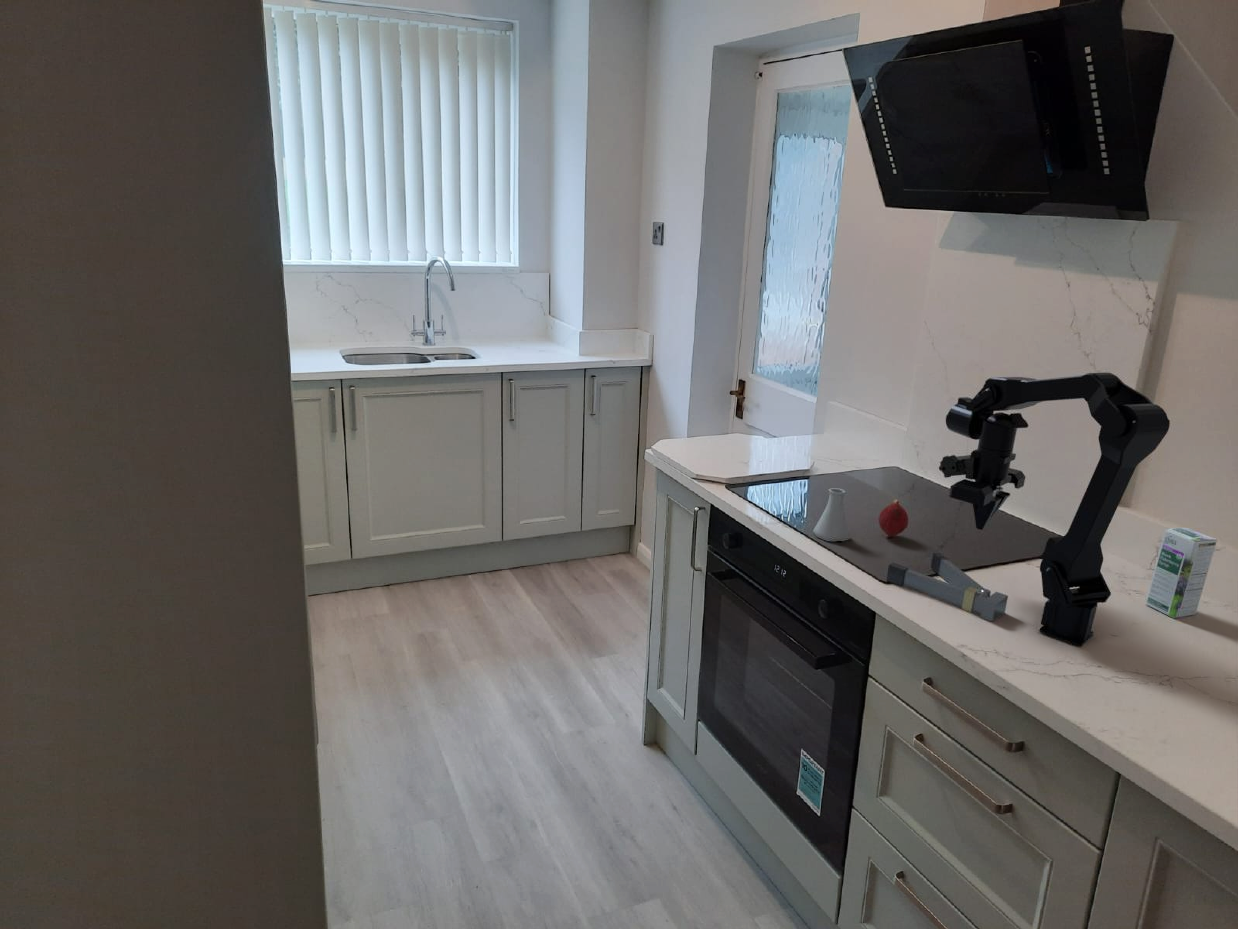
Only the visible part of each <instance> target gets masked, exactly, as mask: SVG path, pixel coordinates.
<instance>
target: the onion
mask: <svg viewBox="0 0 1238 929" xmlns="http://www.w3.org/2000/svg"><path fill="white" fill-rule="evenodd" d="M878 524H879V525H878V526H879V527H880V529H881V531H883V532H884V533H885V534H886V535H887V536H888V537H890V538H894V537H896V536H897V535H899V534H902V533H903V532H904V531H905V529H906V528H907V527H908V525H909V516H908V513H907V511H906V509H905V508H903V506H901V505H900V501H899V500H898V499H894V500H893V502H892V504H889V505H887V506H885V507H884V508H883V509H882V510H881V511H880V513H879V516H878Z"/></svg>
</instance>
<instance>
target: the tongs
mask: <svg viewBox="0 0 1238 929" xmlns="http://www.w3.org/2000/svg"><path fill="white" fill-rule="evenodd" d="M886 580H887V581H886ZM886 580H885V581H886V582H888V581H889V583H891V584H894V585H896V586H899V587H905V588H907V589H910V590H912V591H914V592H915V591H916V592H918V593H921V594H922V595H926V596H929V597H931V598H934V599H937V600H938V601H939V600H940V601H942V602H944V603H948V604H950V605H953V606H956V607H958V608H960V609H961V610H964V611H966V612H968V613H974V614H977V615H980V618H981V619H983V620H986V621H988V622H992V623H993V622H994V621H996V620H997V619H998V618H1000V617H1001V616H1002V615H1004V614H1005V613H1006V608H1007V605H1008V600H1009V595H1007V594H1004V593H1002V592H998V591H995V592H994V593H993V594H990V596H989V597H986V596H983V595H980V594H979V590H978V589H975V588H973V587H969V588H967V589H963V588H960V587H957V586H955V585H952V584H950V583H949V582H947V581H943V580H941V579H937V578H934V577H933V576H929V575H926V574H923V573H921V572H918V571H916V570H912V569H909V567H907V566H904V565H901V564H899V563H895V562H892V563H889V564H888V568H887V576H886Z"/></svg>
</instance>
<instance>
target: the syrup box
mask: <svg viewBox="0 0 1238 929" xmlns="http://www.w3.org/2000/svg"><path fill="white" fill-rule="evenodd" d="M1217 542H1218V538H1215V537H1211V536H1208V535H1206V534H1204V533H1202V532H1198V531H1195V530H1193V529H1191V528H1190V527H1172V528H1168V529H1165V530H1164V533H1163V537H1162V540H1161V544H1160V547H1159V552H1158V555H1157V556H1158V557H1157V559H1156V560H1157V561H1156V564H1155V566H1154V567H1155V568H1154V572H1153V576H1152V579H1151V583H1150V585H1149V586H1150V587H1149V591H1148V592H1147V596H1146V598H1145V599H1146V600H1145V606H1148V607H1151V608H1153V609H1155V610H1156V611H1158V612H1160V613H1162V614H1164V615H1166V616H1169V617H1170V618H1172V619H1177V618H1184V617H1188V616H1193V615H1196V613H1197V610H1198V607H1199V603H1200V599H1201V597H1202V594H1203V590H1204V586H1205V582H1206V579H1207V576H1208V573H1209V569H1210V565H1211V562H1212V558H1213V555H1214V553H1215V549H1216V546H1217Z"/></svg>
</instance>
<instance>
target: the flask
mask: <svg viewBox="0 0 1238 929" xmlns="http://www.w3.org/2000/svg"><path fill="white" fill-rule="evenodd" d="M828 492H829V498H828V502H827V504H826V507H825V509H824V511H823V513H822V514H821V516H820V518H819V519H818V522H817V523H816V524H815V527H814V529H813V530H812V532H813V534H814V536H816V538H819V539H822V540H824V541H827V542H836V541H842V542H845V541H847V540H850V539H851V535H850V533H849V532H850V530H849V528H848V524H847V519H846V514H845V511H844V509H845V508H844V497H845V495H846V494H847V492H846V490H844V489H841V488H839V487H838V488H837V487H835V488H834V487H832V488H828Z"/></svg>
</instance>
